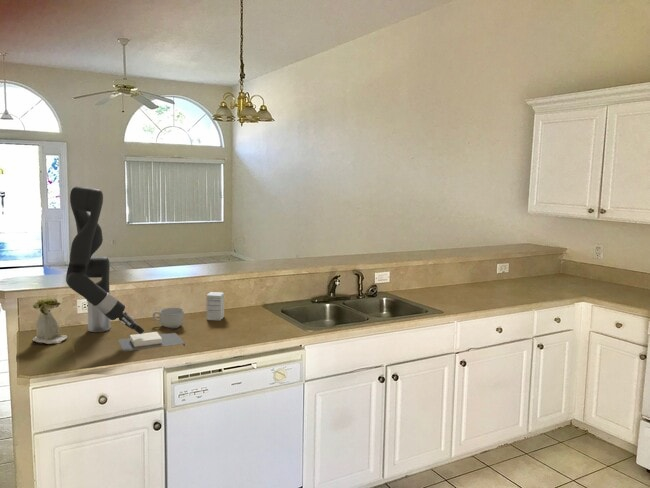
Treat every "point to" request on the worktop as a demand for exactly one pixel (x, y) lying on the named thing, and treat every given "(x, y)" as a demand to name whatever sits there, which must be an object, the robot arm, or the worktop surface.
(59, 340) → the potted leafy plant
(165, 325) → the teacup
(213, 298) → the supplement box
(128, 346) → the mat
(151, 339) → the tile
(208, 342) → the worktop surface
